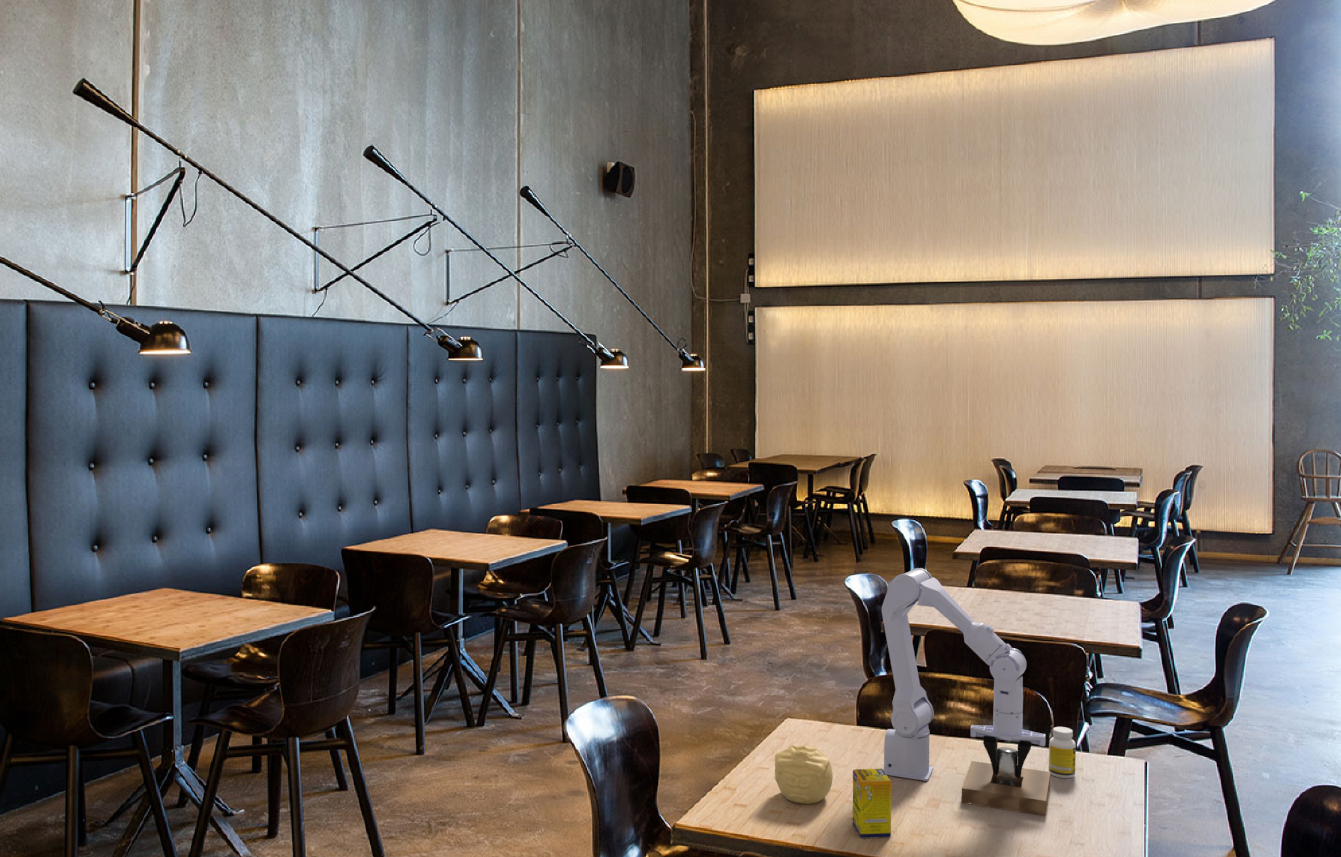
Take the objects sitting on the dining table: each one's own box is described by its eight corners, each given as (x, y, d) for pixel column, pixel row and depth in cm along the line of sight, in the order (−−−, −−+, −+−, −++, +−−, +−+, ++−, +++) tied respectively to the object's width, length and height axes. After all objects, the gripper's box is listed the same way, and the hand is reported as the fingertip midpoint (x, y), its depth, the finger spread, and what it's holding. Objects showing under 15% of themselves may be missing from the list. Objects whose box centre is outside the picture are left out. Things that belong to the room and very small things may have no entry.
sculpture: (769, 805, 204) (769, 752, 204) (783, 783, 216) (783, 733, 215) (825, 813, 201) (826, 759, 200) (837, 790, 212) (837, 739, 211)
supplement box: (851, 824, 195) (852, 768, 195) (882, 823, 196) (882, 767, 195) (860, 838, 189) (860, 781, 189) (891, 837, 190) (892, 779, 189)
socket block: (961, 802, 205) (961, 788, 205) (971, 774, 220) (971, 760, 220) (1045, 816, 199) (1046, 801, 199) (1050, 786, 214) (1050, 772, 214)
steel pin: (995, 790, 208) (996, 752, 208) (997, 783, 212) (998, 746, 212) (1016, 794, 207) (1016, 755, 207) (1017, 786, 211) (1018, 748, 210)
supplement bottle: (1077, 779, 217) (1078, 734, 217) (1050, 778, 218) (1051, 733, 218) (1072, 770, 222) (1073, 726, 222) (1046, 768, 224) (1047, 724, 223)
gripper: (968, 711, 208) (968, 776, 209) (1044, 720, 202) (1043, 787, 203) (973, 701, 214) (972, 764, 215) (1046, 709, 209) (1045, 774, 209)
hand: (1007, 774), depth 209 cm, fingers closed on steel pin, 4 cm apart
